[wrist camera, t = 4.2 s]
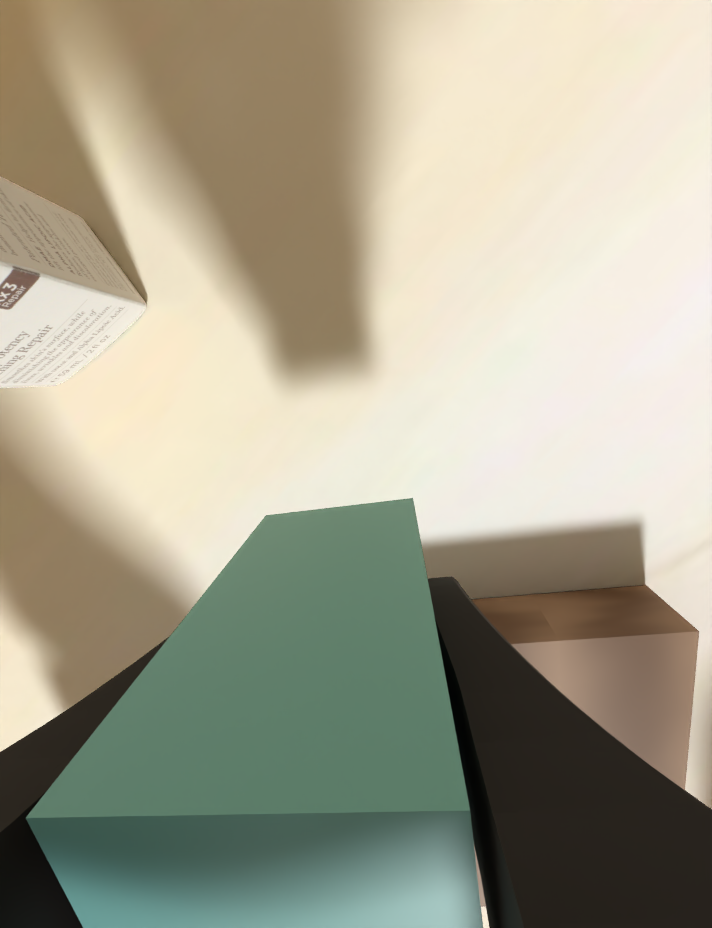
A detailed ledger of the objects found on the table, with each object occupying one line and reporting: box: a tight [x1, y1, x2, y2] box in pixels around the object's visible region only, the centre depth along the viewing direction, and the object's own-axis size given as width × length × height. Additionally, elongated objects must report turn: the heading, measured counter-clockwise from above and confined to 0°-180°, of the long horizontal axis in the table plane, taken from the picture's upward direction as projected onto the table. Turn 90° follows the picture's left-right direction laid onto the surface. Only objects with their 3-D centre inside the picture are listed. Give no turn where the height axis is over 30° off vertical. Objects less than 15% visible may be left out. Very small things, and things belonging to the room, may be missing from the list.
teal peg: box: [26, 498, 483, 928], centre depth 7 cm, size 4×4×7 cm
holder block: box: [472, 585, 699, 906], centre depth 18 cm, size 16×16×3 cm
